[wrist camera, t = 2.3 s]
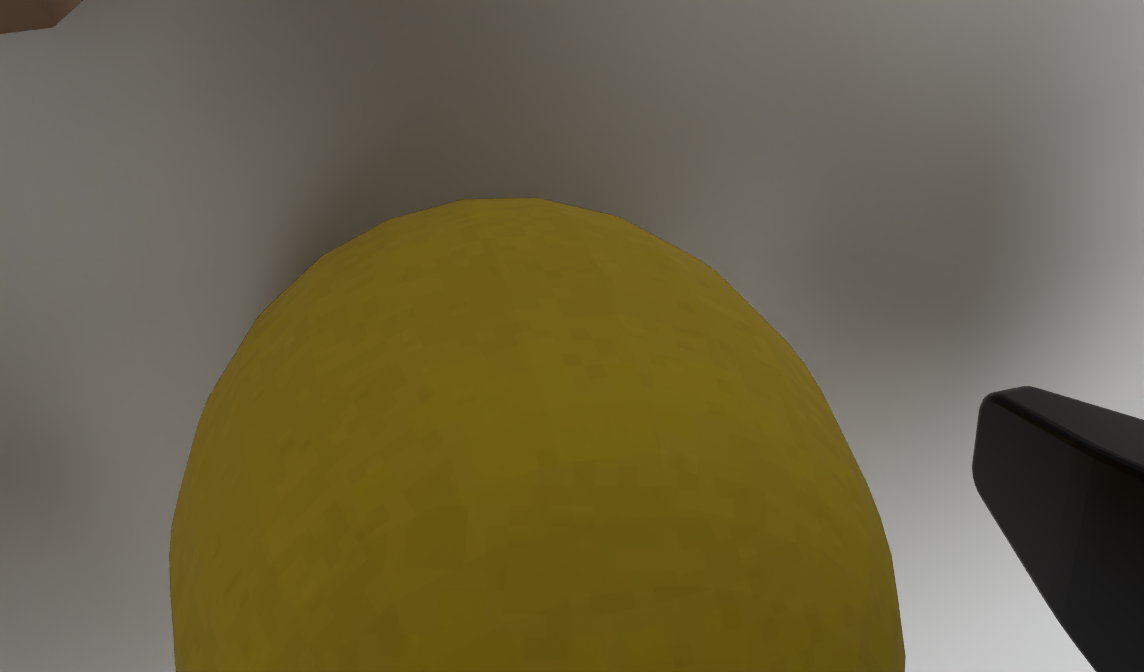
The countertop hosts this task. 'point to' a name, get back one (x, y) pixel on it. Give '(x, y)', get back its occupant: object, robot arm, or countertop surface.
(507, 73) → the countertop surface
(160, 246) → the countertop surface
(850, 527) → the lemon
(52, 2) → the walnut base
